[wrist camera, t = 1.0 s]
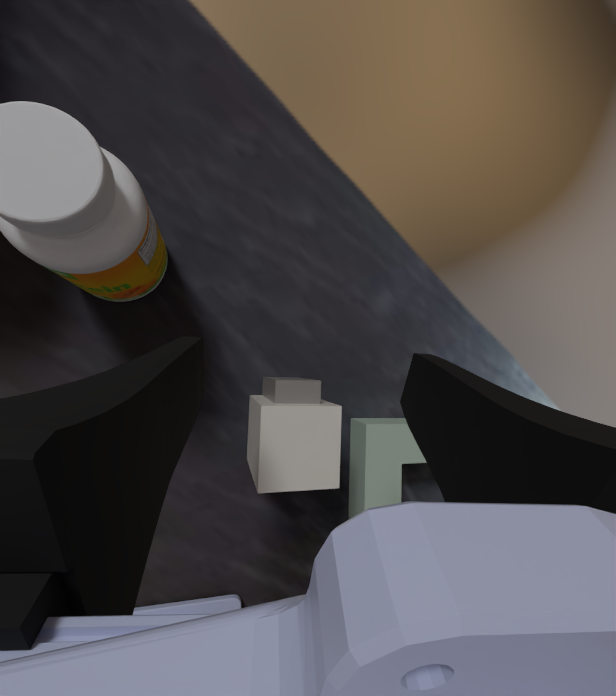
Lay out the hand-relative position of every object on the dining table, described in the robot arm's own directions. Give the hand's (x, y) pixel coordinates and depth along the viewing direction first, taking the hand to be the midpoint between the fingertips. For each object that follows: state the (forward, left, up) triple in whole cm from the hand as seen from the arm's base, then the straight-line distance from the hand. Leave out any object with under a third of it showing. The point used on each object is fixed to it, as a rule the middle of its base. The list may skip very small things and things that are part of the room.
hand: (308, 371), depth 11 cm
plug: (-4, -1, -11) cm, 11 cm away
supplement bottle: (+6, +9, -11) cm, 16 cm away
